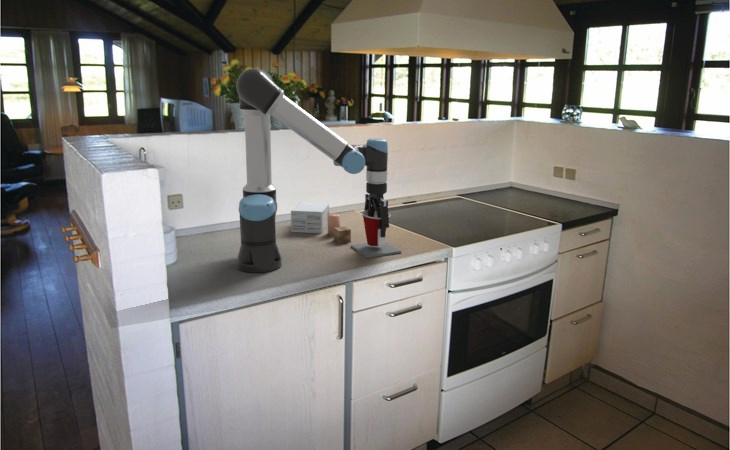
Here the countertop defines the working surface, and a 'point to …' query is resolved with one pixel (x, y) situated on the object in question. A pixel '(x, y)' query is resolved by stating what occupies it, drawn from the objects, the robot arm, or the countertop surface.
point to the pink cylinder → (333, 223)
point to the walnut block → (342, 234)
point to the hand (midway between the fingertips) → (375, 241)
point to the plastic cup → (371, 227)
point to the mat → (375, 250)
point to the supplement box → (309, 217)
